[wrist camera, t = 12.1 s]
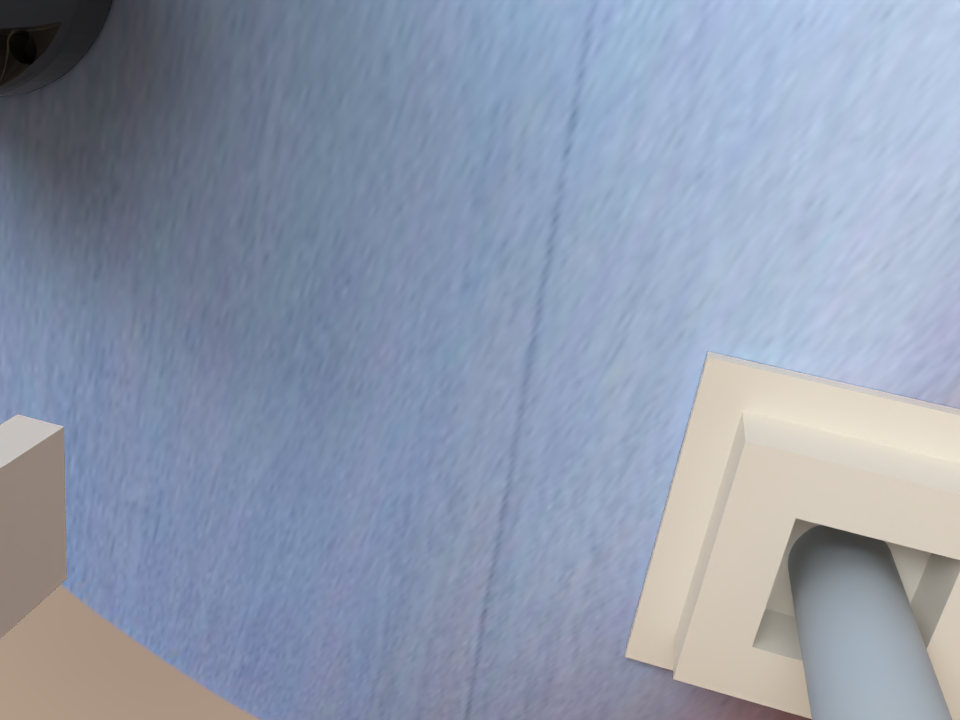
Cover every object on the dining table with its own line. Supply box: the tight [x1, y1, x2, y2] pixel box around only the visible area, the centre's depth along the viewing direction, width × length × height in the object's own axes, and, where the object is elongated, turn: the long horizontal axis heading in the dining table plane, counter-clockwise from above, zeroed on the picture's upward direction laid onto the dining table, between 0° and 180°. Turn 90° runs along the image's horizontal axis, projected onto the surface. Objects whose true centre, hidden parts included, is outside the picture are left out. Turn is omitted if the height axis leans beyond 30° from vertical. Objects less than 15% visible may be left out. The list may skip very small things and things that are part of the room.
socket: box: [625, 351, 960, 720], centre depth 39 cm, size 16×16×4 cm
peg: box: [788, 525, 952, 720], centre depth 32 cm, size 4×4×16 cm
